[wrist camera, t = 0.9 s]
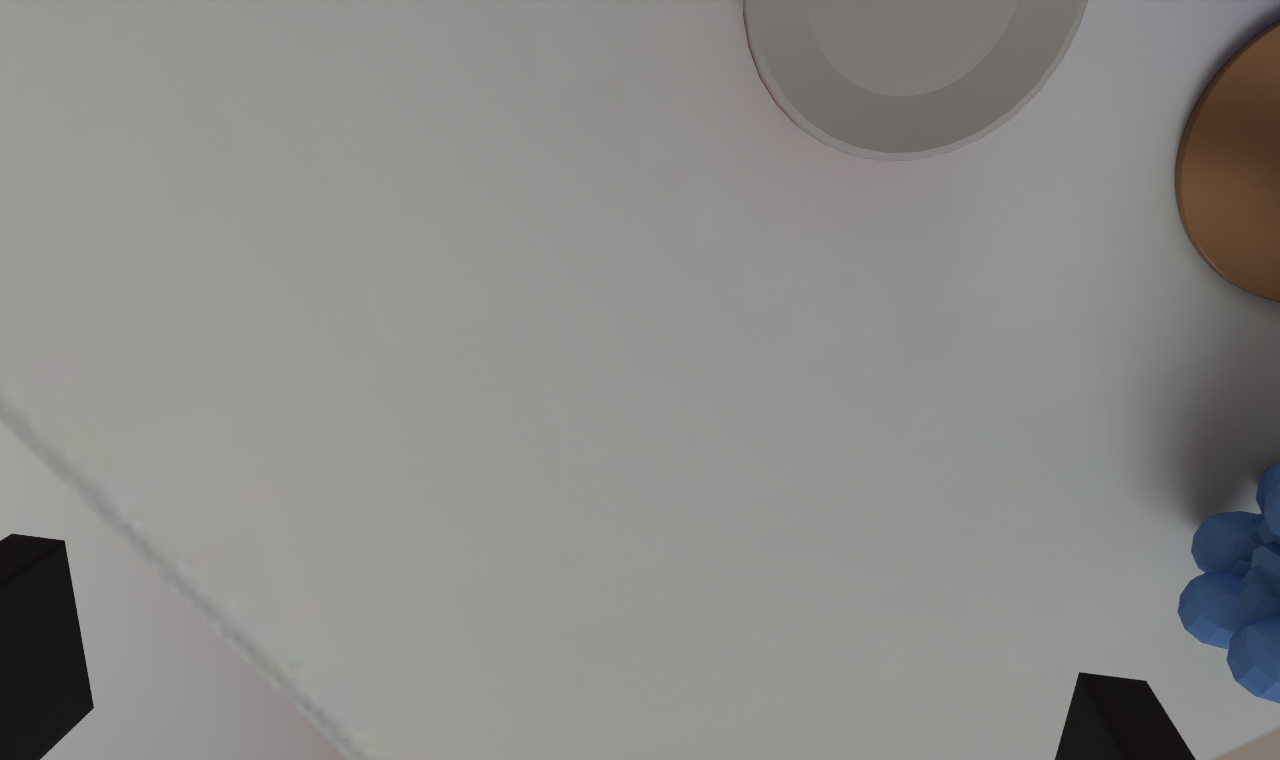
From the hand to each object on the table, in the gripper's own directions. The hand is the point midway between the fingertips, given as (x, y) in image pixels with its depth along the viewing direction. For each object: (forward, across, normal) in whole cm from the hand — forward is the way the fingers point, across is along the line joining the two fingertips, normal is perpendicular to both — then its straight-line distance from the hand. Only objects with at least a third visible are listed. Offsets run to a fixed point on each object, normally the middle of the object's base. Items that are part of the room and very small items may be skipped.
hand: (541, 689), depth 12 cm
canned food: (+24, +5, +10) cm, 26 cm away
